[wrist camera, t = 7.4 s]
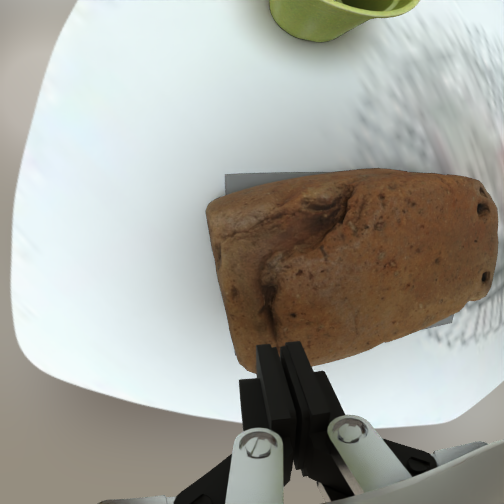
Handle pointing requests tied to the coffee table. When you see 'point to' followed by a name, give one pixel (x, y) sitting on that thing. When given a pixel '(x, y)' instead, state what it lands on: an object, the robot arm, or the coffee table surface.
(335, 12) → the plant pot
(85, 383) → the coffee table surface
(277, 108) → the coffee table surface
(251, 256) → the block
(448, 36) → the coffee table surface
